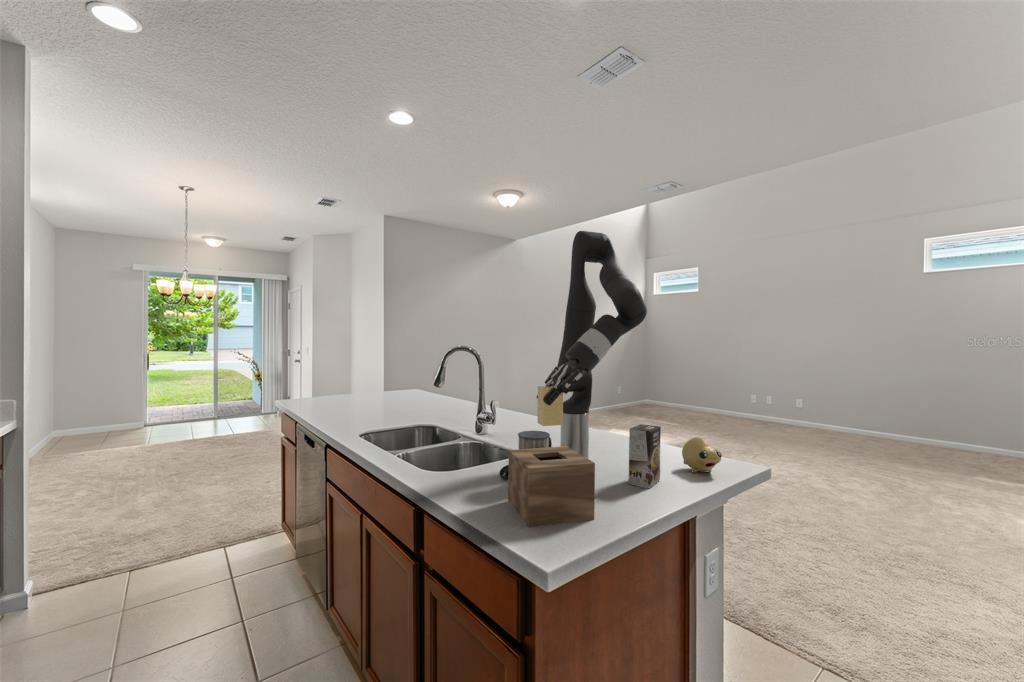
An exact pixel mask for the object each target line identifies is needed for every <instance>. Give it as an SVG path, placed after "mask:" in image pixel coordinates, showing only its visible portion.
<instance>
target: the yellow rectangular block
mask: <svg viewBox="0 0 1024 682" xmlns="http://www.w3.org/2000/svg"><path fill="white" fill-rule="evenodd" d="M552 388H554V386H546V385H540V386H539V385H538V386H537V395H538V399H537V424H539V425H540V426H543V427H549V426H551V427H553V426H555V427H556V426H561V425H563V402H564V393H563V394H562V395H560V394H559V396H558V397H557V398H556V400H555V401H554V402H553V403H552V404H551V405H547V404H546V403H545V402H544V401H543V398H544V397H545V396H546V395H547V394H548V393H549V392H550V391H551V390H552Z"/></svg>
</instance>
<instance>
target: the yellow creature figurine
mask: <svg viewBox="0 0 1024 682" xmlns="http://www.w3.org/2000/svg"><path fill="white" fill-rule="evenodd" d="M681 455H682V459H683V464H684V465H685V466H686V465H687V466H688V467H689V468H691V471H693V472H692V473H694V472H696V473H697V472H702V471H704V472H707V471H711V470H712V469H713V468H714V467H715V466H716V465H718V464H719V463H720V462H721V461H722V456H723V455H722V452H721V451H719V450H717V449H715V448H713V446H712V445H711V444H710V443H708V441H706V440H705V439H703V438H702V437H699V436H695V437H692V438H690V439H689V440H687V441H686V442H685V443H684V445H683V447H682V449H681ZM711 472H712V471H711Z"/></svg>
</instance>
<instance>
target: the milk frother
mask: <svg viewBox="0 0 1024 682" xmlns="http://www.w3.org/2000/svg"><path fill="white" fill-rule="evenodd" d="M517 436H518V449H533V448H547V447H553V446H552V445H553V444H552V437H550V436H551V434H550V433H549V432H547V431H542V430H524V431H520V432H518V433H517ZM498 474H499V477H500V478H501V479H503V480H506V481H508V464H506V465H504V466H503V467H502V468H501V469H500V470H499V473H498Z"/></svg>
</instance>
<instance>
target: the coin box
mask: <svg viewBox="0 0 1024 682" xmlns="http://www.w3.org/2000/svg"><path fill="white" fill-rule="evenodd" d="M507 463H508V464H507V465H508V480H507V481H508V483H507V485H508V487H507V489H508V490H507V499H508V500H507V501H508V504H510V505H511V507H512V508H513V510H514V511H515V512H516V513H517V514H518V516H519V517H520V518H521V519H522V521H523V522H524V523H525V525H526V527H527V528H537V527H544V526H551V525H559V524H567V523H575V522H583V521H591V520H595V508H596V507H595V498H596V495H595V494H596V493H595V492H596V491H595V490H596V488H595V487H596V484H595V482H596V481H595V480H596V479H595V477H596V463H595V462H594V461H592V460H590V459H589V458H588V459H587V458H586V457H584V456H582V455H581V454H579V453H577V452H576V451H574V450H572V449H570V448H569V447H567V446H561V447H560V446H551V447H547V448H533V449H519V448H518V449H508V462H507Z"/></svg>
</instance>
